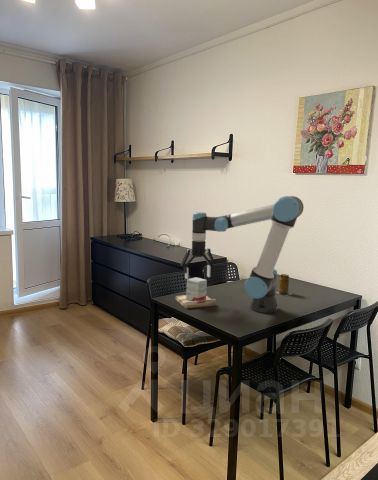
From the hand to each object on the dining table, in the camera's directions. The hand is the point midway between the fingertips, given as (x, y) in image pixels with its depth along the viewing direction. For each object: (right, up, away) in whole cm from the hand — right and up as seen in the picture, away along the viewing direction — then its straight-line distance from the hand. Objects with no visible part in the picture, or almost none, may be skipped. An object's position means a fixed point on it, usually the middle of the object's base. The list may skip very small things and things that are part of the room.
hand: (197, 277), depth 208 cm
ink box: (-1, -13, +2) cm, 13 cm away
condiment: (+56, -13, +29) cm, 65 cm away
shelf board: (-2, -14, +3) cm, 15 cm away
